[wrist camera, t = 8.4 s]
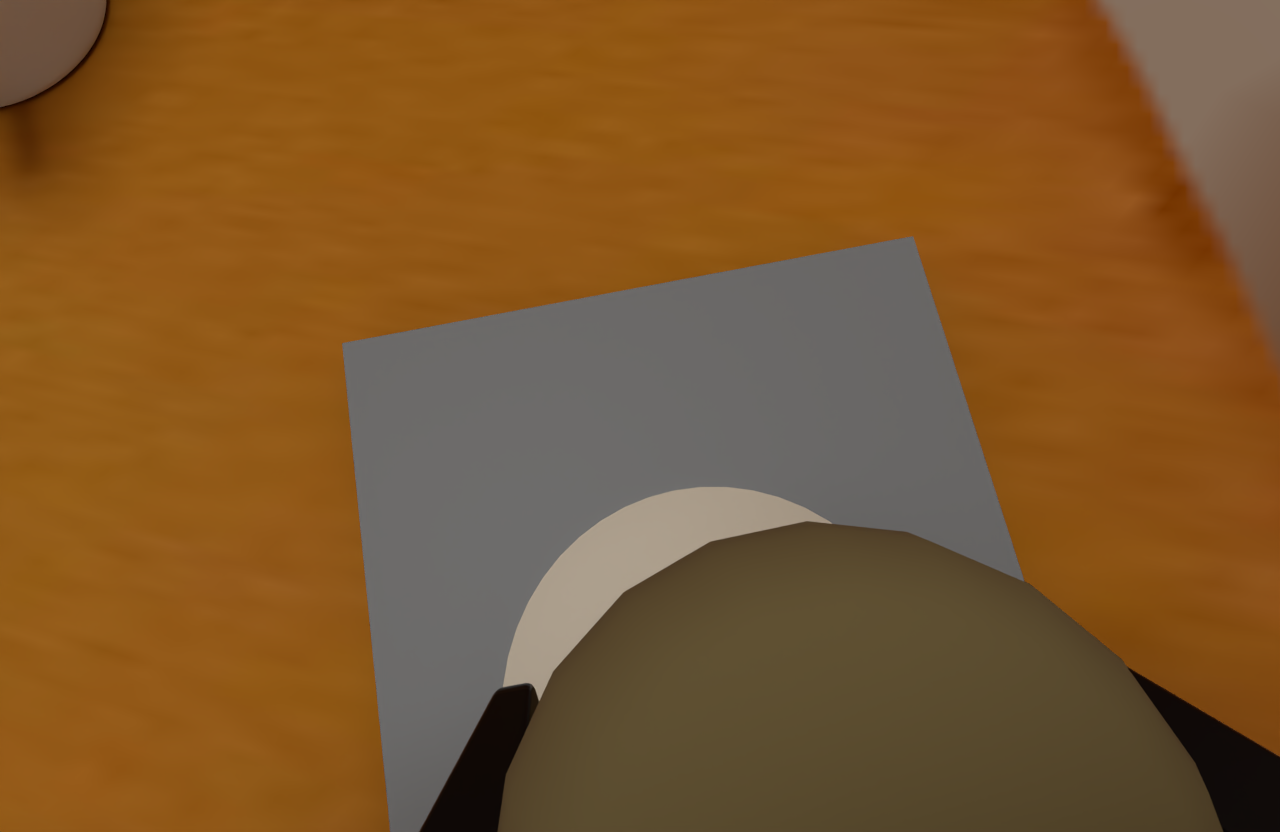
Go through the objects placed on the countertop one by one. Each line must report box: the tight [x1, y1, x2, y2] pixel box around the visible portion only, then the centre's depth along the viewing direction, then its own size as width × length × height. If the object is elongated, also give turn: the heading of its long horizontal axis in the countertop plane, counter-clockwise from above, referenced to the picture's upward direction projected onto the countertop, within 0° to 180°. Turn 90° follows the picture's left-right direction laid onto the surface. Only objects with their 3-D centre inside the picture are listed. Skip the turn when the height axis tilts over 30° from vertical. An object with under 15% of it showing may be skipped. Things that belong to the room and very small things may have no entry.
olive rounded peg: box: [498, 521, 1223, 832], centre depth 9 cm, size 6×6×11 cm
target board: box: [342, 236, 1024, 832], centre depth 16 cm, size 19×14×1 cm
